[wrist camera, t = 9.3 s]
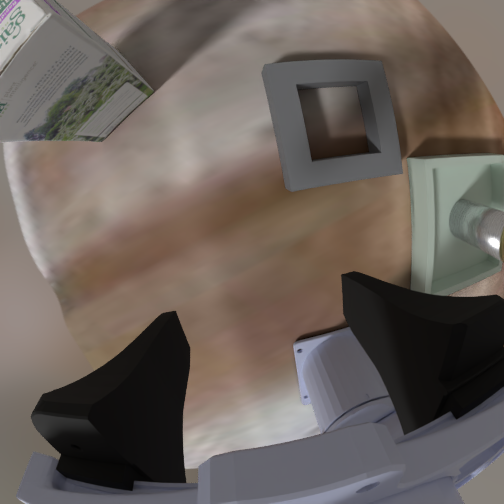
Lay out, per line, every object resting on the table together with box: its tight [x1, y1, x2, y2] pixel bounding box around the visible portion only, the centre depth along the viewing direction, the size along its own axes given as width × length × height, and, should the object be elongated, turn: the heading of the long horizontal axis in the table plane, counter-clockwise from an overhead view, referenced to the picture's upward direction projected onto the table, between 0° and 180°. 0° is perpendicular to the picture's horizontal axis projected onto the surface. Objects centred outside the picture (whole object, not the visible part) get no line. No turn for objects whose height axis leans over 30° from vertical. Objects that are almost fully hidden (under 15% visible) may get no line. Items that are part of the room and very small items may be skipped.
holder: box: [262, 59, 403, 192], centre depth 18 cm, size 9×9×2 cm
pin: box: [449, 199, 504, 262], centre depth 18 cm, size 4×4×8 cm
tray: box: [407, 153, 504, 296], centre depth 21 cm, size 13×13×2 cm
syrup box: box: [0, 0, 154, 142], centre depth 10 cm, size 6×6×14 cm
